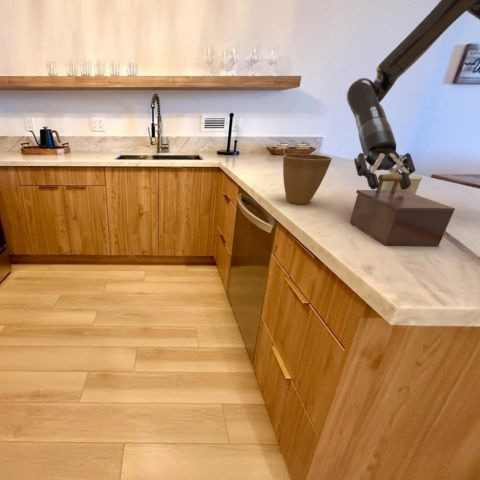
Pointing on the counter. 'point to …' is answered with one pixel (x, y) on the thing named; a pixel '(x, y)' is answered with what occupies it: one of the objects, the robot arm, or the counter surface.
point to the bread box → (399, 224)
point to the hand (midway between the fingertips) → (390, 188)
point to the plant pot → (303, 176)
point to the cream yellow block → (389, 184)
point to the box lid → (402, 198)
